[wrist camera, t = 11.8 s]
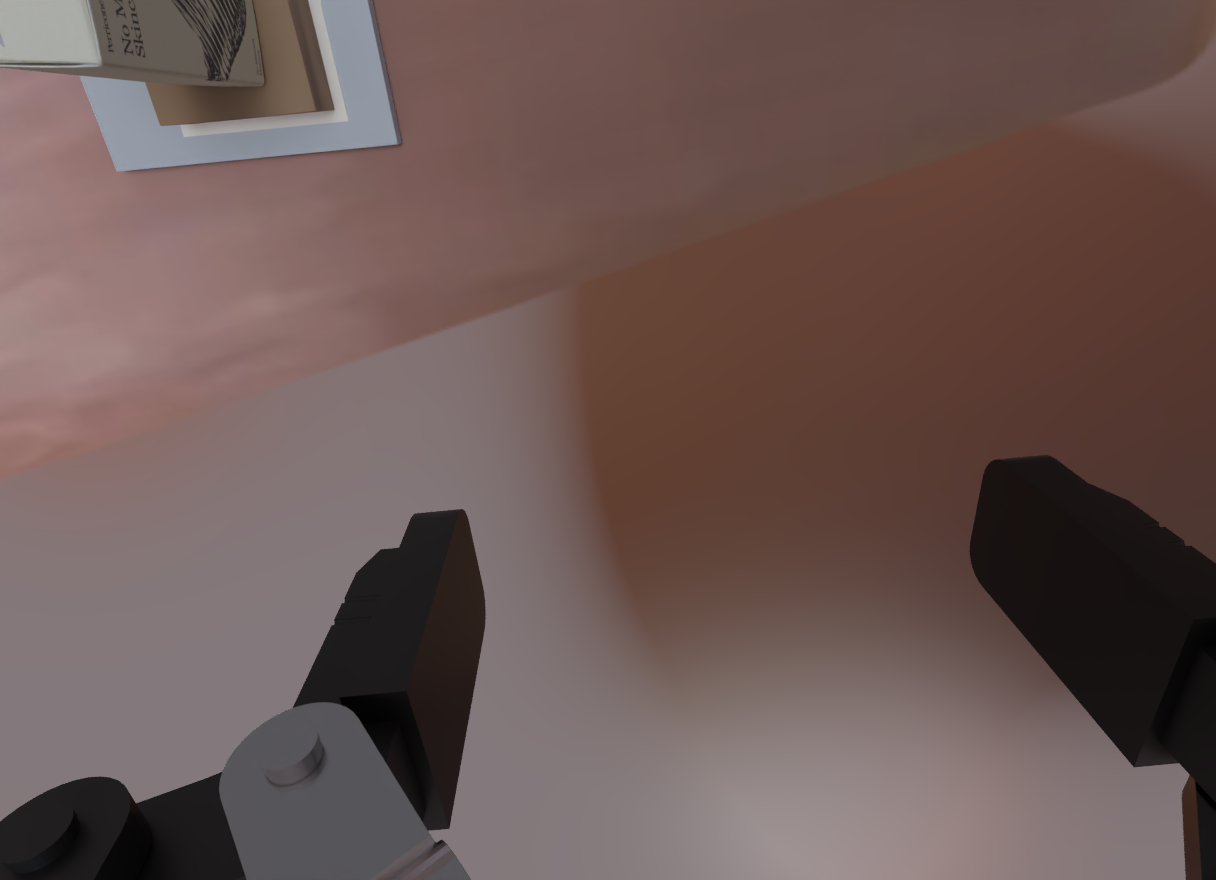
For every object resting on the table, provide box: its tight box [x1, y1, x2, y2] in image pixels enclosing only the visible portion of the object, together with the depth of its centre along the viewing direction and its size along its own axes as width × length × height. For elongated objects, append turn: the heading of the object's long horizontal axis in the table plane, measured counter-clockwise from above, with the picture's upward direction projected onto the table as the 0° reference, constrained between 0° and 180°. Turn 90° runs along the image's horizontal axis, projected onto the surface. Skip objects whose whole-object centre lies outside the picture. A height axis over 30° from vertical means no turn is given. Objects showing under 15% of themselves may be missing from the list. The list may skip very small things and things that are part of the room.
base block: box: [145, 0, 335, 126], centre depth 34 cm, size 8×8×3 cm
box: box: [0, 0, 264, 87], centre depth 27 cm, size 5×4×13 cm
